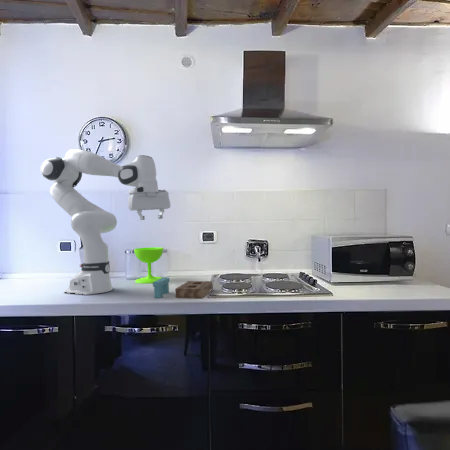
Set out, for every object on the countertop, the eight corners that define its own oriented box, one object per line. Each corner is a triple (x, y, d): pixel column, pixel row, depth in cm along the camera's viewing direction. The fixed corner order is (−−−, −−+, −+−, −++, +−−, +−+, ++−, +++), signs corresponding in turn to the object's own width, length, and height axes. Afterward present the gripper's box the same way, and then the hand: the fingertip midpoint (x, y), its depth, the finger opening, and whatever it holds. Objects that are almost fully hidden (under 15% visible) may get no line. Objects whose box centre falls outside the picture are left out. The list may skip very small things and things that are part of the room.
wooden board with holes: (175, 297, 155) (175, 288, 155) (188, 289, 172) (188, 281, 172) (202, 298, 152) (202, 289, 152) (212, 289, 170) (212, 281, 170)
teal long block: (153, 298, 155) (152, 282, 155) (163, 292, 167) (163, 277, 166) (159, 298, 154) (159, 282, 154) (169, 292, 166) (169, 277, 166)
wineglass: (161, 283, 190) (160, 249, 190) (131, 284, 190) (130, 250, 189) (166, 278, 206) (165, 247, 206) (138, 278, 206) (137, 247, 205)
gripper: (164, 190, 175) (167, 218, 174) (125, 191, 161) (128, 221, 161) (171, 188, 170) (174, 217, 169) (131, 188, 157) (134, 219, 156)
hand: (151, 219), depth 165 cm, fingers open, 8 cm apart
